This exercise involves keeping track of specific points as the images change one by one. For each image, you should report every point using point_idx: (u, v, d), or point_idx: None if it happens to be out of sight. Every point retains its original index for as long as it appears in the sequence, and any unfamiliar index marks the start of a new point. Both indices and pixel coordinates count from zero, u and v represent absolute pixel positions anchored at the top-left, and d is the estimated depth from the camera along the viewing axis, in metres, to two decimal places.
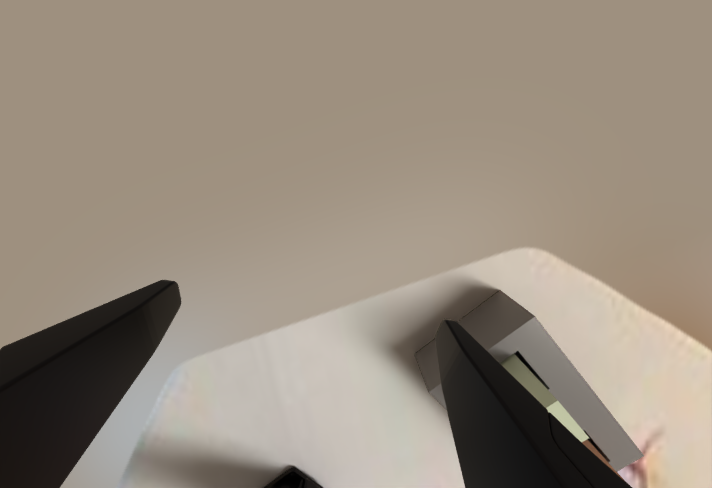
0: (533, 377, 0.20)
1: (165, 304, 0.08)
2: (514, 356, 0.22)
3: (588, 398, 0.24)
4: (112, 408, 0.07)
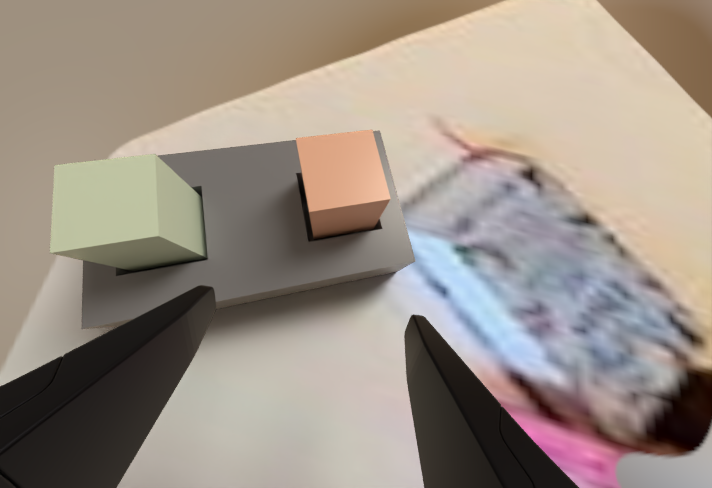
0: None
1: (204, 309, 0.08)
2: None
3: (248, 154, 0.19)
4: (159, 413, 0.07)
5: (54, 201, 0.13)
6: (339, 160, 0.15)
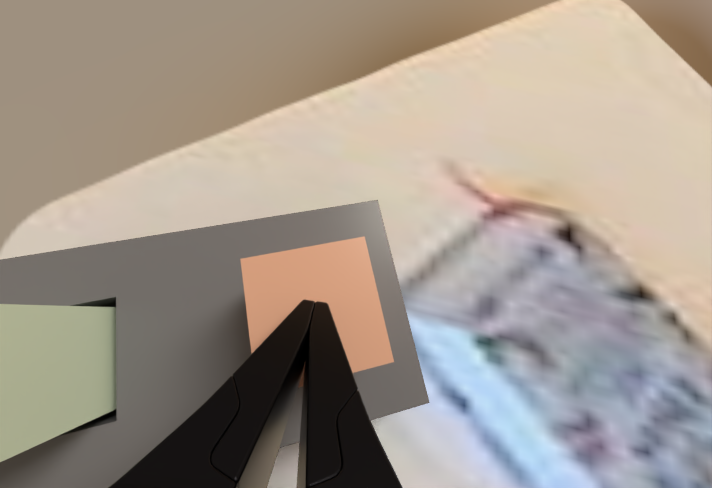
0: None
1: None
2: None
3: (189, 243, 0.13)
4: (285, 425, 0.07)
5: None
6: (310, 295, 0.09)
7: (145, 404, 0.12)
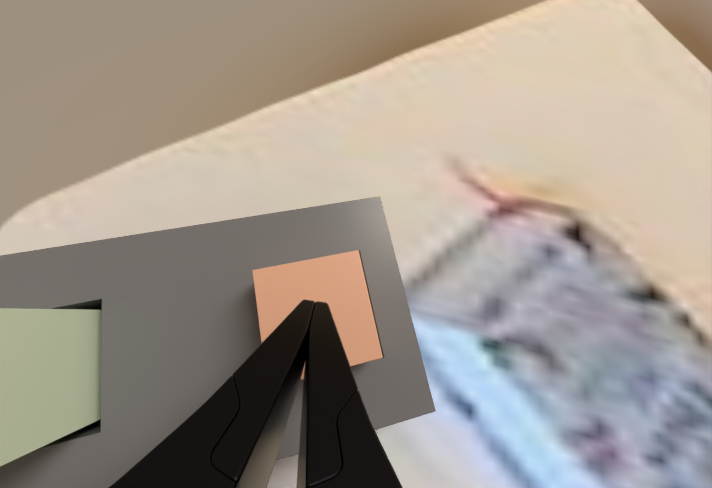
0: None
1: None
2: None
3: (181, 242, 0.13)
4: (285, 426, 0.07)
5: None
6: None
7: (132, 414, 0.11)
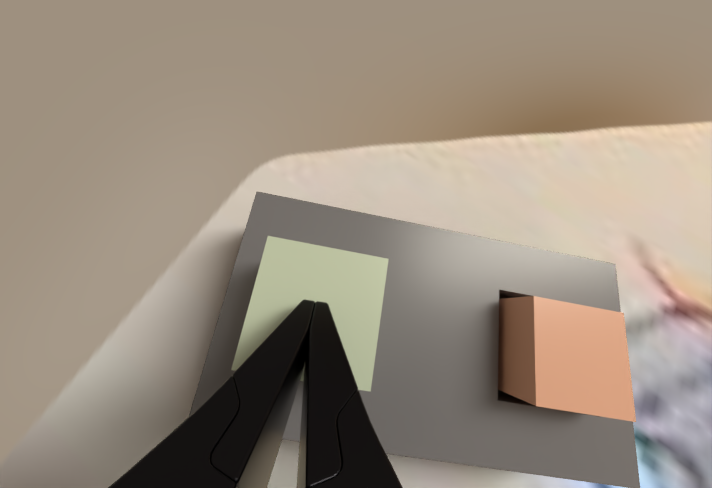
0: None
1: None
2: None
3: (445, 242, 0.14)
4: (285, 425, 0.07)
5: (255, 289, 0.09)
6: (579, 343, 0.12)
7: (389, 374, 0.12)
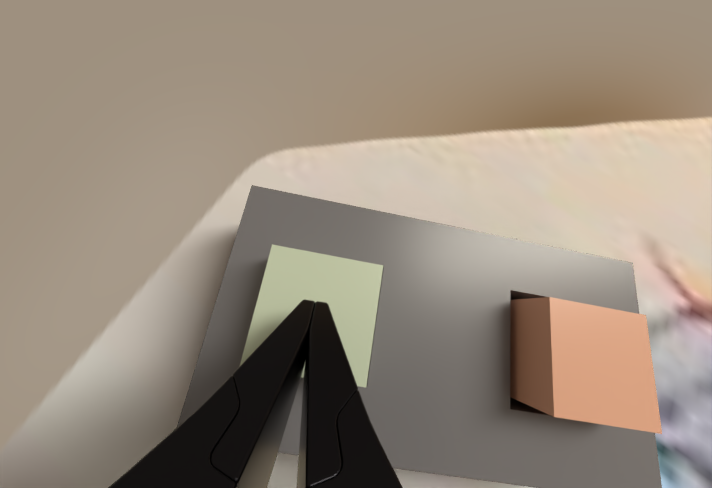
0: None
1: None
2: None
3: (453, 239, 0.14)
4: (285, 425, 0.07)
5: (260, 294, 0.10)
6: (599, 348, 0.11)
7: (393, 381, 0.11)
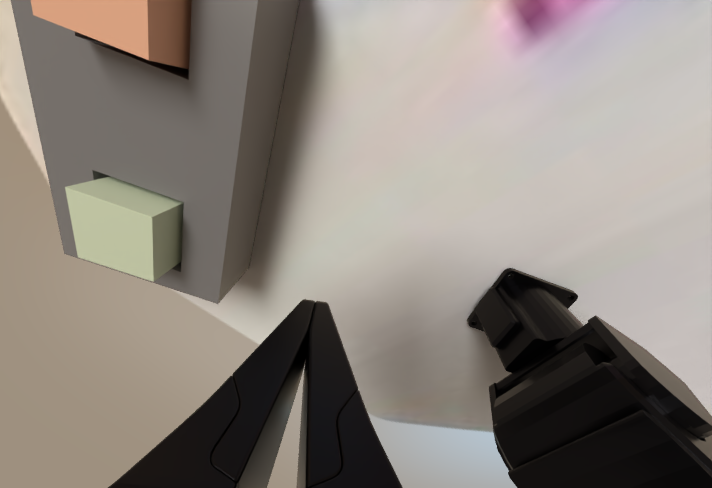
0: None
1: None
2: None
3: (44, 92, 0.13)
4: (285, 426, 0.07)
5: (111, 267, 0.16)
6: None
7: (178, 182, 0.15)
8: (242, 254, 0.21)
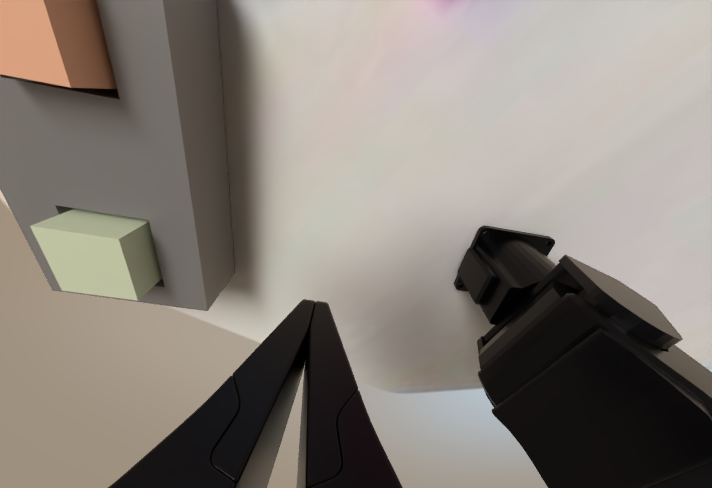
0: None
1: None
2: None
3: None
4: (285, 426, 0.07)
5: (95, 294, 0.17)
6: None
7: (138, 201, 0.15)
8: (222, 260, 0.21)
